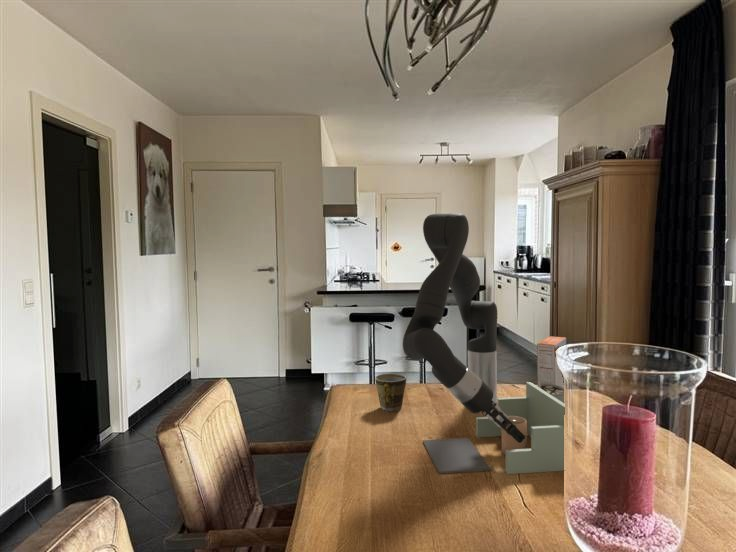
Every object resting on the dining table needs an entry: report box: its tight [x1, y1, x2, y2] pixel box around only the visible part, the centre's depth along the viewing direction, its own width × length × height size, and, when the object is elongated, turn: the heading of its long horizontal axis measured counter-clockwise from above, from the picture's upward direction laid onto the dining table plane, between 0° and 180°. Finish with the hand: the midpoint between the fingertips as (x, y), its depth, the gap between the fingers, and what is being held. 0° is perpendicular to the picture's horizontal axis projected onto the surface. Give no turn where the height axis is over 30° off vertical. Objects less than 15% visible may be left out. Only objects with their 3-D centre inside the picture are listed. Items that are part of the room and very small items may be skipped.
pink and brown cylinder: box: [500, 416, 528, 455], centre depth 118 cm, size 6×6×8 cm
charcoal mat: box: [422, 437, 492, 475], centre depth 117 cm, size 18×12×1 cm, turn 5°
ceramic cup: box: [374, 373, 407, 412], centre depth 152 cm, size 13×10×10 cm
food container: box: [540, 383, 565, 404], centre depth 136 cm, size 12×6×10 cm, turn 168°
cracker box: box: [536, 335, 567, 388], centre depth 153 cm, size 14×6×21 cm, turn 144°
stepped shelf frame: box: [475, 381, 566, 475], centre depth 118 cm, size 22×15×14 cm
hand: (516, 434), depth 118 cm, fingers closed on pink and brown cylinder, 6 cm apart
